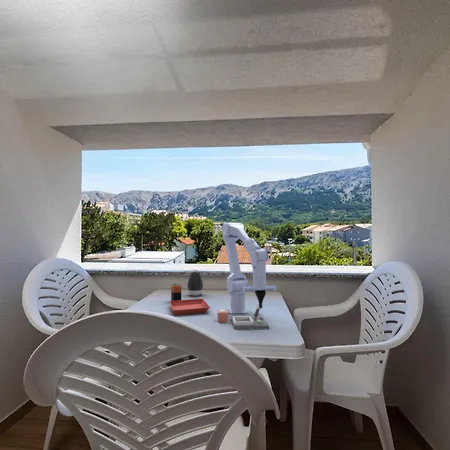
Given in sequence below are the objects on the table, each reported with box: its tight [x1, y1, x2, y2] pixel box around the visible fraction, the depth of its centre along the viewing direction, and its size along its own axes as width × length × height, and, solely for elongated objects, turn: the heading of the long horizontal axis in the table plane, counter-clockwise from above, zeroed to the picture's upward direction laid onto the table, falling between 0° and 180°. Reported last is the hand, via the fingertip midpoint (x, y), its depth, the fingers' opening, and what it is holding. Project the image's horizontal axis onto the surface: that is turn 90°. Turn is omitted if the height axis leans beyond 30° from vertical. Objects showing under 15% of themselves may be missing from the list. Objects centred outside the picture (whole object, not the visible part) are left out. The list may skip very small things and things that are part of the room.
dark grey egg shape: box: [186, 269, 204, 297], centre depth 179 cm, size 10×10×15 cm
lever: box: [254, 304, 261, 320], centre depth 127 cm, size 3×1×6 cm, turn 4°
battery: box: [170, 282, 182, 301], centre depth 163 cm, size 4×7×10 cm, turn 23°
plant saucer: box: [169, 298, 211, 316], centre depth 146 cm, size 18×18×3 cm
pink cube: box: [216, 309, 229, 323], centre depth 129 cm, size 4×4×4 cm
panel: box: [230, 313, 270, 330], centre depth 126 cm, size 16×14×2 cm
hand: (260, 307), depth 127 cm, fingers closed, pressing on lever
